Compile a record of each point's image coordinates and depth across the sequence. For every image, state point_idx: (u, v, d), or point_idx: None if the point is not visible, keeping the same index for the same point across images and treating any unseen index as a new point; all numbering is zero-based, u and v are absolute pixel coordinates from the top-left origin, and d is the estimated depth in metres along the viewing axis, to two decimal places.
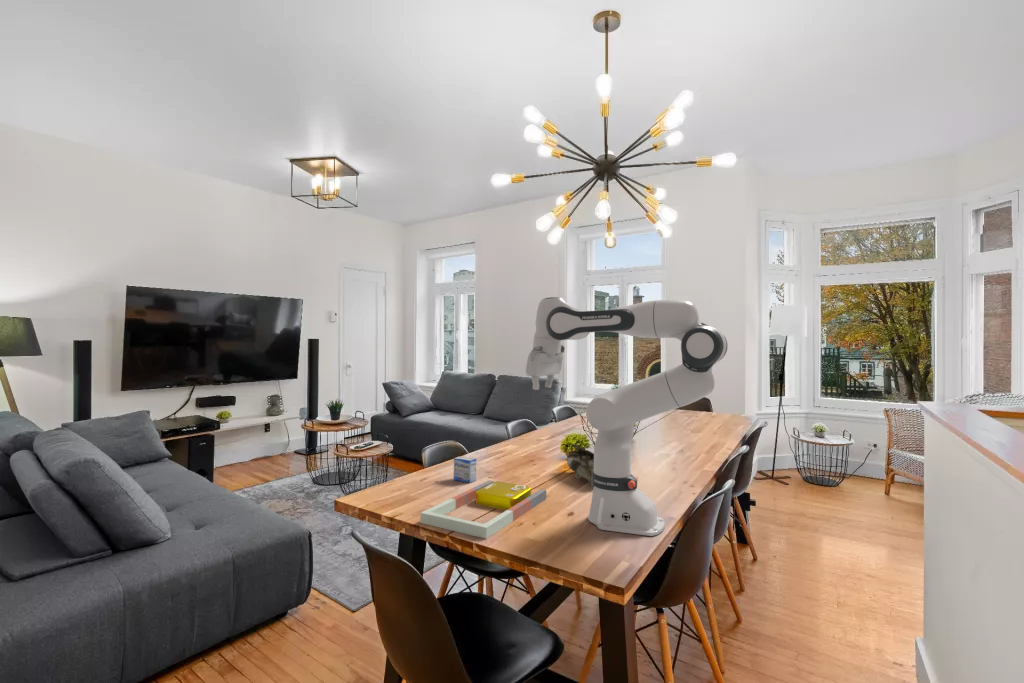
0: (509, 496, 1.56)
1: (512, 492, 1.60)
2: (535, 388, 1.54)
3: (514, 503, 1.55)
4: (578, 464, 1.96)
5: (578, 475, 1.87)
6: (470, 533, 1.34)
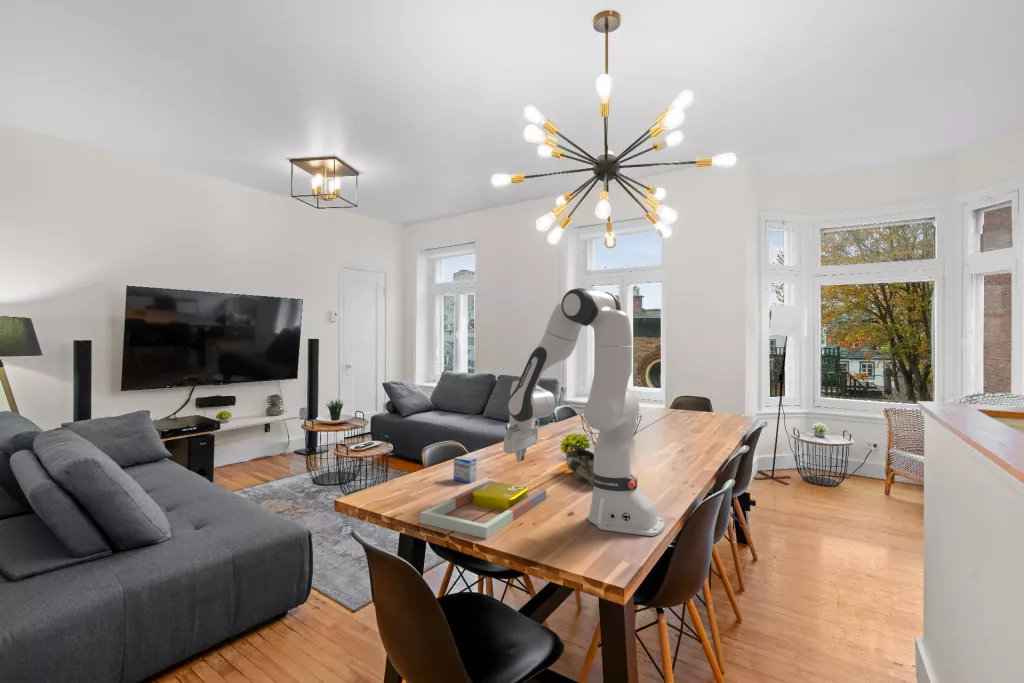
0: (506, 497, 1.55)
1: (509, 493, 1.59)
2: (519, 460, 1.74)
3: (512, 504, 1.54)
4: (577, 464, 1.96)
5: (578, 475, 1.87)
6: (470, 533, 1.34)
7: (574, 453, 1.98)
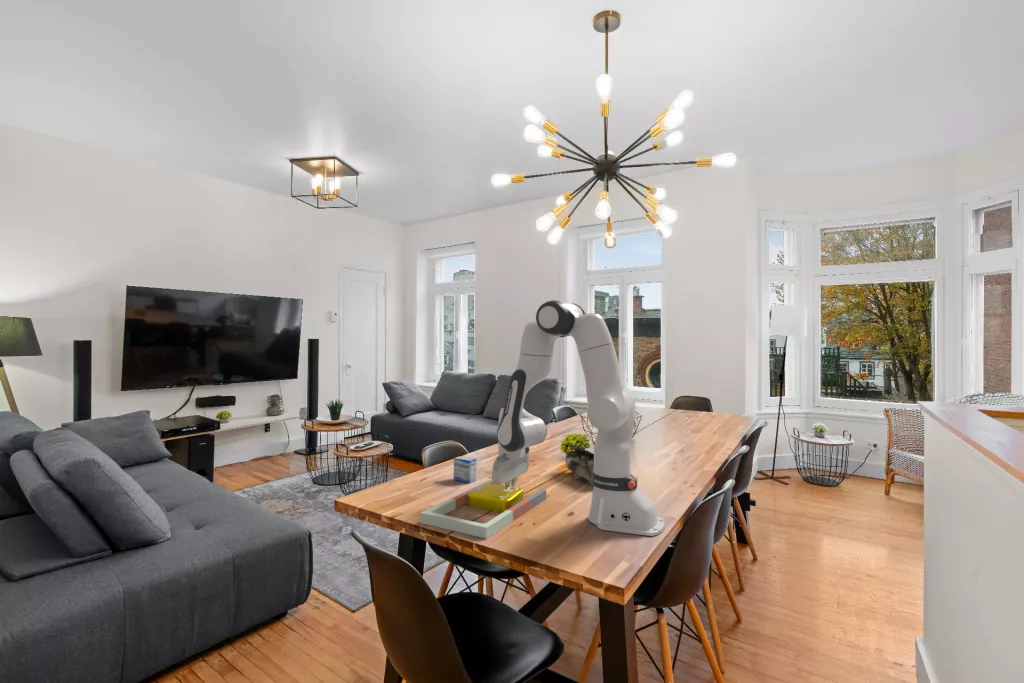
0: (503, 498, 1.54)
1: (505, 494, 1.58)
2: None
3: (508, 505, 1.53)
4: (577, 464, 1.96)
5: (577, 475, 1.86)
6: (470, 533, 1.34)
7: (573, 453, 1.98)
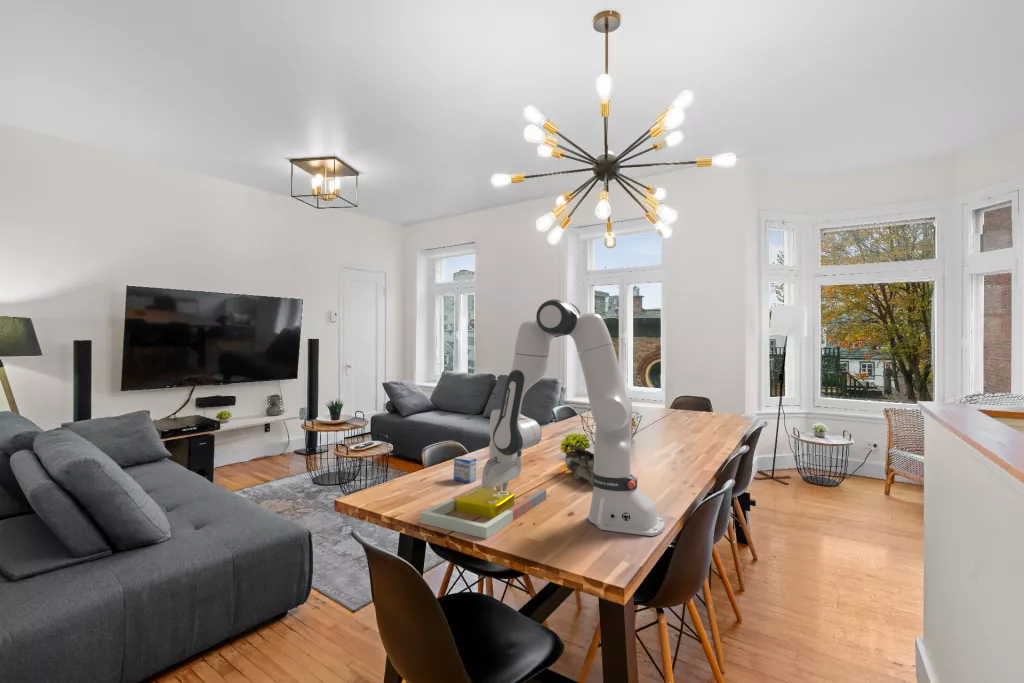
0: (491, 503, 1.49)
1: (495, 499, 1.53)
2: None
3: (497, 510, 1.48)
4: (576, 464, 1.96)
5: (577, 475, 1.86)
6: (470, 533, 1.34)
7: (573, 453, 1.98)
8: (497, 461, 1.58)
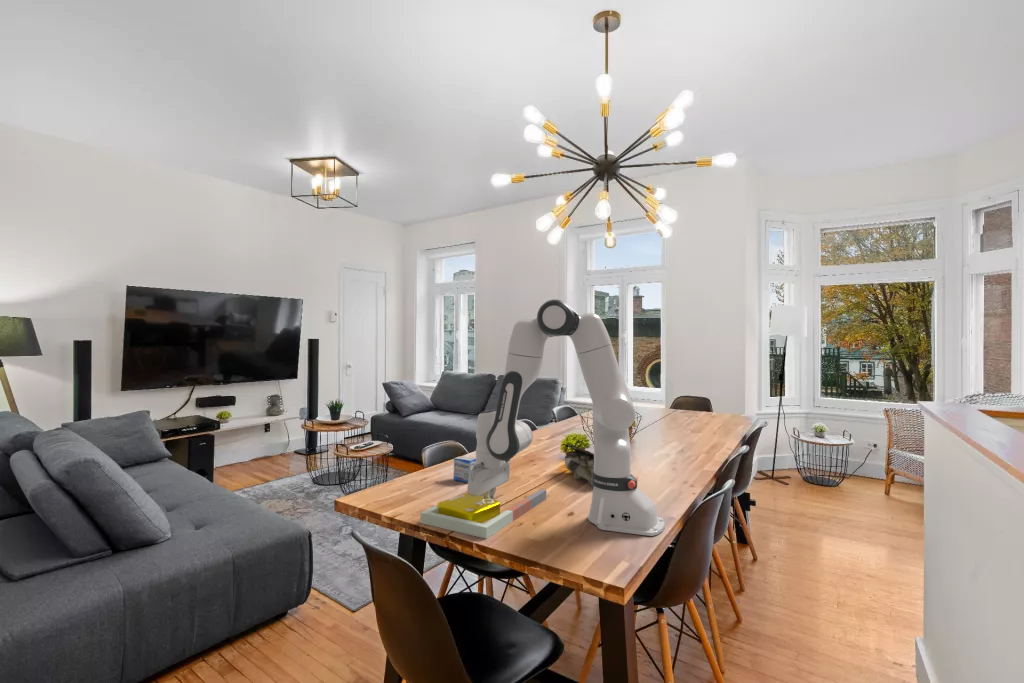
0: (468, 511, 1.42)
1: (475, 506, 1.46)
2: None
3: (472, 519, 1.41)
4: (576, 464, 1.96)
5: (577, 475, 1.86)
6: (470, 533, 1.34)
7: (573, 453, 1.98)
8: (484, 467, 1.51)
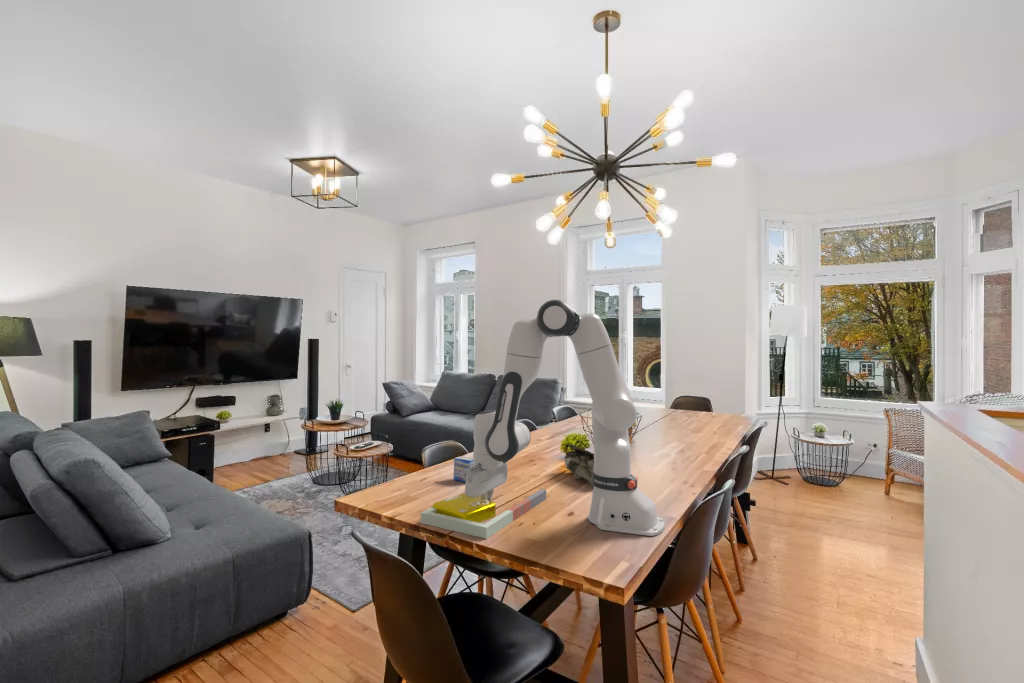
0: (461, 512, 1.41)
1: (469, 507, 1.45)
2: None
3: None
4: (576, 464, 1.96)
5: (577, 475, 1.86)
6: (470, 533, 1.34)
7: (572, 453, 1.98)
8: (481, 468, 1.50)
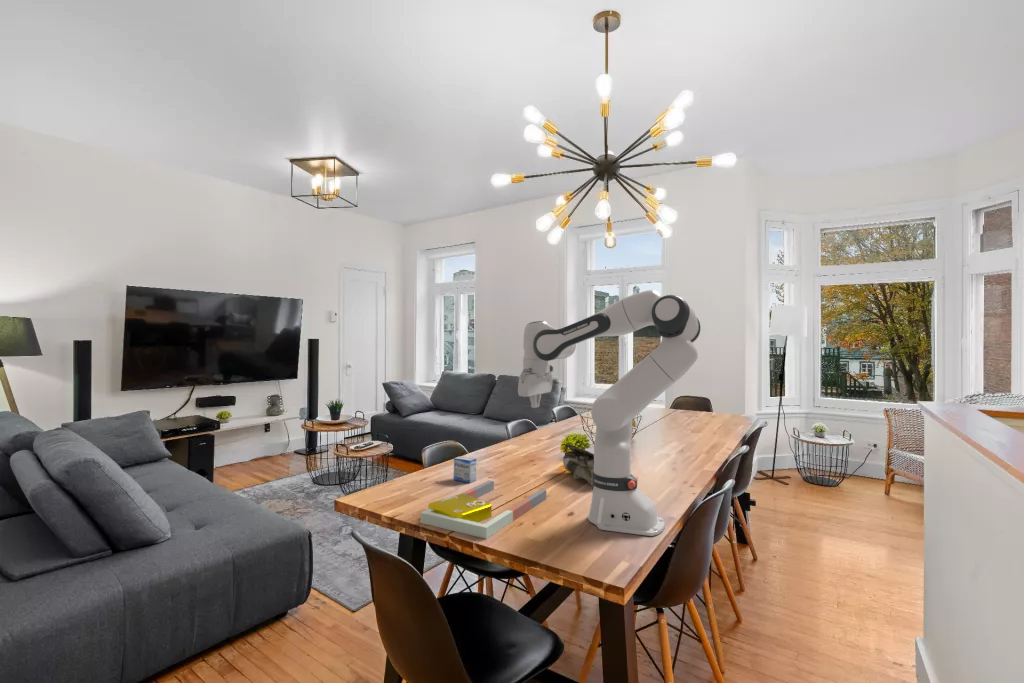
0: (456, 512, 1.41)
1: (465, 508, 1.45)
2: (533, 406, 1.67)
3: None
4: (575, 465, 1.95)
5: (577, 476, 1.86)
6: (470, 533, 1.34)
7: (571, 453, 1.97)
8: (532, 372, 1.64)
